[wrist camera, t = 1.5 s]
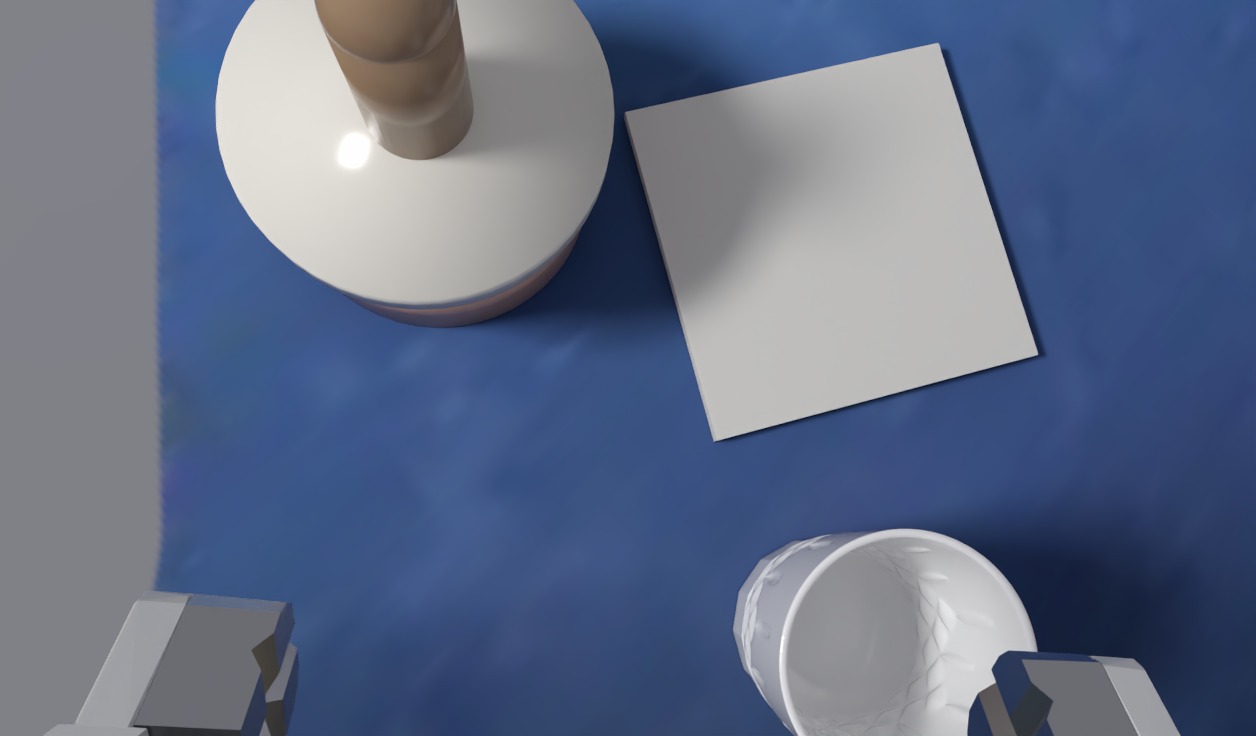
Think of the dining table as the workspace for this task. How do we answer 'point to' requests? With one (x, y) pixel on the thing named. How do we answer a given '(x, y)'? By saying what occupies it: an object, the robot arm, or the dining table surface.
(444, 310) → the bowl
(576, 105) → the lid
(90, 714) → the robot arm
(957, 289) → the mat
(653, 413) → the dining table surface
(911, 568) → the white cup
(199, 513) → the dining table surface
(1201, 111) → the dining table surface
